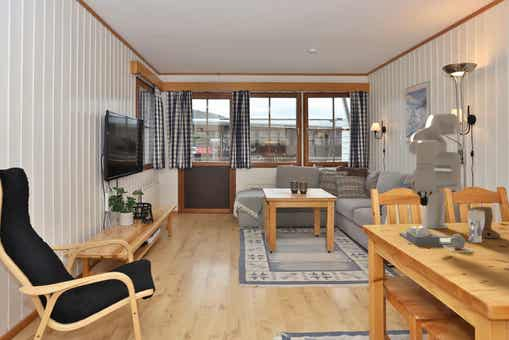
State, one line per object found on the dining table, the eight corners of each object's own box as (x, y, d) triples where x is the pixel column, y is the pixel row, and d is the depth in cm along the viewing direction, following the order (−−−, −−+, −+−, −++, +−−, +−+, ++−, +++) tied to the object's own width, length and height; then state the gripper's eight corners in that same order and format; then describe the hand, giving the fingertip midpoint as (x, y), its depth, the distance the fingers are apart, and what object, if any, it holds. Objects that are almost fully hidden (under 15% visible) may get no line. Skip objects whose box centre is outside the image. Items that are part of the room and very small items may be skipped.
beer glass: (481, 240, 184) (482, 209, 183) (485, 244, 177) (487, 212, 176) (465, 239, 186) (466, 209, 184) (469, 242, 179) (470, 211, 178)
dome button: (413, 236, 183) (413, 224, 182) (426, 236, 183) (426, 224, 182) (418, 240, 177) (419, 227, 176) (431, 240, 177) (432, 227, 176)
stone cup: (468, 231, 202) (469, 203, 201) (494, 233, 198) (495, 205, 197) (473, 238, 188) (474, 208, 187) (501, 240, 184) (502, 209, 183)
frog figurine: (447, 249, 168) (448, 233, 168) (453, 246, 173) (453, 231, 173) (462, 252, 164) (463, 236, 164) (467, 248, 169) (468, 233, 168)
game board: (399, 234, 195) (399, 224, 195) (440, 234, 194) (441, 225, 194) (424, 251, 164) (425, 240, 164) (474, 252, 164) (474, 240, 163)
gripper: (437, 166, 181) (436, 203, 183) (405, 166, 181) (404, 204, 183) (444, 167, 173) (443, 206, 175) (411, 168, 174) (410, 207, 176)
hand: (423, 205), depth 179 cm, fingers closed
